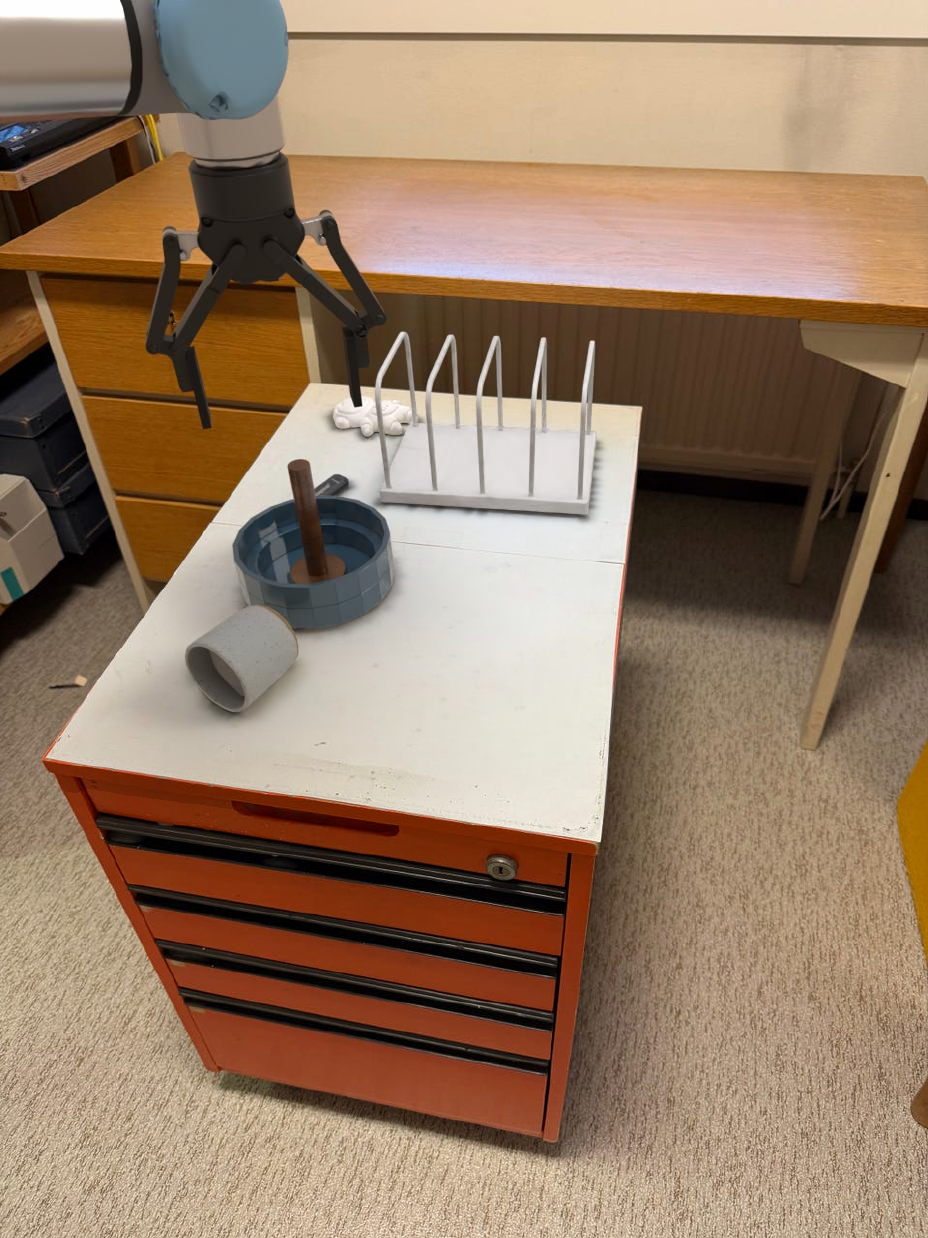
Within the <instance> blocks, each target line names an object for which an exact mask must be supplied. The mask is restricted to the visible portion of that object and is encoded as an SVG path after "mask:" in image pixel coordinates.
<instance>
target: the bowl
mask: <svg viewBox="0 0 928 1238" xmlns="http://www.w3.org/2000/svg"><path fill="white" fill-rule="evenodd" d="M316 502H317V507H318V513H319V519H320V525H321V531H322V537H323V542H324V548H325V554H332V555H335V556H337V557H339V558H340V559H342V560H343V562H344V563H345V566H346V572H347V574H345V575H343V576H340V577H338V578H335V579H333V580H327V581H322V582H316V583H311V584H292V583H291V578H290V570H291V568H292V566H293V565H294V564H295V563H296V562H297V561H298V560H300V559H302V558H304V557H305V556H304V551H303V546H302V540H301V535H300V530H299V525H298V520H297V514H296V509H295V504H294V499H293V498H292V499H288V500H285V501H283V502H280V503H277V504H273V505H271V506H269V507H267V508H265V509H263V510H262V511H261V512H259V513H257V514H255V515H254V516H252V517H250V519H248V521H247V522H245V523H244V525H243V526H241V528H240V529H239V530H237V534H236V536H235V538H234V540H233V543H232V545H231V547H232V556H233V557H232V558H233V563H234V566H235V571H236V574H237V578H238V582H239V586H240V589H241V593H242V597H243V601H244V602H245V603H246V604H247V607H248V606H251V605H256V604H258V605H264V606H266V607H269V608H271V609H273V610H275V611H276V612H278V613H279V614H280V615H281V616H282V617H283V618H284V619H285V620H286V621H287V622H288V623H289V625H290V626H291V628H292V629H312V630H313V629H315V630H316V629H322V628H327V627H332V626H338V625H341V624H344V623H347V622H349V621H352V620H354V619H356V618H359V617H361V616H364V615H365V614H367V613H368V612H369V611H371V610H372V609H373V608H375V607H376V606H377V605H379V604H380V603H381V602H382V601H383V600H384V598H385V597H386V596H387V594H388V593H389V591H390V590H391V588H392V586H393V582H394V576H395V565H394V564H395V563H394V555H393V547H392V538H391V537H392V536H391V531H390V528H389V524H388V522H387V519H386V517H385V516H383V514H382V513H380V511H378V509H376V508H375V507H374V506H372V505H370V504H368V503H365V502H363V501H361V500H359V499H356V498H351V497H345V496H341V495H335V496H316Z"/></svg>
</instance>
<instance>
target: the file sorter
mask: <svg viewBox="0 0 928 1238" xmlns="http://www.w3.org/2000/svg"><path fill="white" fill-rule="evenodd" d="M402 341H404V347H405V348H404V349H405V357H406V366H407V377H408V386H409V387H408V388H409V396H410V405H411V407H410V408H411V409H412V417H413V423H410V424H409V423H408V425H407V428H406V430H405V433H404V435H403V437H402V439H401V442H400V443H399V446H398V448H397V450H396V453H395V455H394V457H393V459H392V462H391V464H389V457H388V450H387V448H388V447H387V441H386V434H385V432H384V424H383V415H382V407H381V401H382V395H381V394H382V391H381V390H382V382H383V378H384V376H385V375H386V372H387V370H388V369H389V366H390V365H391V363H392V361H393V359H394V356H395V355H396V353H397V351H398V349H399V347H400V346H401V344H402ZM588 343H589V344H588V350H587V356H586V362H585V369H584V375H583V381H582V388H581V389H582V390H581V402H580V403H581V405H580V422H579V423H580V425H579V429H558V428H557V429H554V428H547V374H548V373H547V371H548V370H547V369H548V368H547V367H548V365H547V363H548V361H547V359H548V358H547V357H548V356H547V355H548V354H547V353H548V351H547V347H548V345H547V344H548V343H547V338H546V337H541V338H540V341H539V347H538V352H537V358H536V364H535V369H534V373H533V374H534V375H533V381H532V388H531V399H530V423H529V424H530V425H529V426H530V427H512V426H511V427H510V426H504V422H503V420H504V419H503V416H504V415H503V379H502V374H503V373H502V346H501V345H502V344H501V339H500V336H499V335H494V336H493V337H492V340H491V343H490V345H489V349H488V352H487V355H486V357H485V361H484V363H483V366H482V370H481V373H480V375H479V379H478V382H477V388H476V397H475V399H476V400H475V414H476V415H475V416H476V417H475V418H476V425H470V424H468V425H467V424H461V417H460V416H461V415H460V399H459V397H460V396H459V395H460V394H459V376H458V375H459V374H458V357H457V356H458V353H457V341H456V338H455V335H454V334H448V335H447V336H446V338H445V341H444V343H443V345H442V348H441V350H440V352H439V354H438V356H437V359H436V360H435V362H434V366H433V368H432V370H431V372H430V374H429V377H428V379H427V382H426V383H427V384H426V389H425V402H424V403H425V417H426V418H425V419H426V422H424V423H423V422H417V414H418V413H417V411H418V410H417V403H416V402H417V401H416V392H415V381H414V371H413V362H412V361H413V360H412V352H411V343H410V337H409V334H408V332H406V331H400V332H399V333H398V335H397V337H396V339H395V341H394V343H393V344H392V347H391V348H390V350H389V352H388V354H387V356H386V357H385V359H384V361H383V363H382V365H381V367H380V368H379V370H378V373H377V375H376V379H375V388H374V398H375V399H374V400H375V403H376V412H377V420H378V428H379V432H378V435H379V442H380V443H379V444H380V450H381V458H382V465H383V472H384V475H383V476H384V479H383V481H382V482H381V486H380V488H379V498H380V499H379V500H380V502H382V503H394V504H409V505H410V504H411V505H428V506H429V505H430V506H443V507H460V508H476V509H492V510H493V509H494V510H507V511H523V512H524V511H525V512H539V513H541V512H542V513H556V514H572V515H588V514H589V510H590V508H589V507H590V500H591V491H592V483H593V472H594V465H595V455H596V447H597V431H596V430H592V413H593V398H594V397H593V393H594V379H595V378H594V375H595V357H596V356H595V355H596V342H595V340H590V341H589V342H588ZM449 347H450V348H451V366H452V381H453V400H454V401H453V402H454V420H455V421H454V422H455V424H448V423H433V417H432V415H433V413H432V391H433V386H434V383H435V379H436V378H437V375H438V373H439V371H440V368H441V366H442V364H443V361H444V358H445V356H446V354H447V352H448V350H449ZM494 353H495V359H496V361H495V362H496V388H497V389H496V390H497V423H498V424H497V425H498V426H493V425H490V426H489V425H483V412H482V411H483V410H482V409H483V407H482V402H483V401H482V400H483V389H484V386H485V385H484V384H485V381H486V378H487V375H488V372H489V368H490V366H491V363H492V360H493V356H494ZM540 374H541V428H536V424H537V401H538V400H537V398H538V387H539V380H540Z"/></svg>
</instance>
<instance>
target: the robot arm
mask: <svg viewBox="0 0 928 1238" xmlns="http://www.w3.org/2000/svg"><path fill="white" fill-rule="evenodd" d="M289 41H290V39H289V35H288V24H287V19H286V15H285V11H284V9H283V6H282V3H281V1H280V0H0V125H1V124H2V125H3V124H13V123H15V124H16V123H27V122H40V121H43V122H44V121H54V120H55V121H56V120H68V119H69V120H70V119H71V120H72V119H83V118H96V117H137V116H149V115H150V116H153V115H165V114H166V115H167V114H176V117H177V121H178V126H179V132H180V135H181V141H182V145H183V151H184V152H185V154H186V155H187V156H189V157H190V158H193V159H192V160H191V161H190V163H189V165H188V167H187V168H188V173H189V177H190V183H191V187H192V188H191V189H192V192H193V197H194V202H195V207H196V211H197V215H198V227H197V230H177V229H176V227H174V226H173V225H167V226H165V227H163V230H162V233H161V234H162V239H161V240H162V250H163V258H164V260H163V263H162V268H161V271H160V276H159V279H158V283H157V288H156V292H155V297H154V301H153V304H152V309H151V313H150V316H149V320H148V326H147V328H146V329H147V330H146V333H145V350H146V352H147V353H148V354H149V355H153V356H156V355H158V354H159V355H165V356H167V357H169V359H170V360H171V362H172V365H173V369H174V373H175V377H176V380H177V384H178V389H179V390H180V391H181V392H182V394H183V393H190V392H191V393H192V392H193V394H194V398H195V402H196V407H197V411H198V415H199V419H200V423H201V427H202V430H210V429H213V428H212V417H211V411H210V407H209V402H208V398H207V395H206V390H205V386H204V382H203V381H204V380H203V377H202V372H201V369H200V364H199V360H198V356H197V351H196V348H195V346H194V345H192V343H193V342H194V340H195V338H196V337H197V335H198V333H199V331H200V330H201V328H202V326H203V325H204V323H205V321H206V320H207V318H208V316H209V315H210V313H211V312H212V310H213V308H214V306H215V304H216V303H217V301H218V299H219V298H220V296H221V295H223V293H224V292H225V290H226V289H227V287H228V285H229V284H230V282H231V281H232V282H234V283H237V284H240V286H247V285H253V284H254V283H257V282H260V281H261V282H267V283H272V282H279V281H280V279H282V278H283V277H284V276H285V275H286V274H287V275H288V276H289V277H290V278H292V279H293V280H294V281H295V282H296V283H297V284H298V285H300V286H302V287H303V288H304V289H305V290H306V291H308V292H309V293H310V294H311V295H312V296H313V297H314V298H315V299H316V300H317V301H318V302H320V303H321V304H322V306H324V307H325V308H326V309H327V310H329V312H331V313H332V314H333V315H334V316H335V317H336V318H337V319H338V320H339V321H340V322H341V323H343V324H344V325H345V326H341V332H342V341H343V348H344V349H343V350H344V358H345V366H346V374H347V382H348V383H347V384H348V391H349V397H351V399H352V402H353V405H354V408H355V407H362V397H361V396H362V390H361V382H360V381H361V380H360V372H359V369H364V368H365V369H366V368H369V366H370V363H371V362H370V352H369V351H370V350H369V341H368V335H369V331H370V330H371V329H372V328H374V327H377V326H384V325H385V324H386V322H387V315H386V313H385V311H384V308H383V307H382V305H381V303H380V302H379V300H378V299H377V297H376V295H375V294H374V292H373V291H372V289H371V287H370V286H369V284H368V282H367V281H366V279H365V278H364V276H363V275H362V273H361V272H360V270H359V268H358V267H357V265H356V263H355V262H354V260H353V258H352V256H351V255H350V254H349V252H348V250H347V249H346V248H345V246H344V244H343V242H342V239H341V234H340V229H339V226H338V223H337V220H336V218H335V216H334V215H333V213H332V211H331V210H329V209H322V210H321V211H320V212H319V214H318V215H316V216H312V217H309V218H304V219H301V218H300V217H299V215H298V214H297V211H296V204H295V197H294V190H293V185H292V184H293V183H292V176H291V170H290V163H289V158H288V157H287V156H286V155H285V154H284V153H283V152H282V151H281V150H282V149H283V148H285V146H286V144H287V141H286V140H287V139H286V134H285V128H284V127H285V126H284V120H283V112H282V107H281V106H282V105H281V100H280V99H281V98H280V92H279V91H280V89H281V87H282V84H283V82H284V80H285V77H286V73H287V70H288V65H289V64H288V63H289V55H290V54H289V53H290V52H289V51H290V49H289ZM306 236H309V237H312V238H313V240H314V241H315V243H316V244H317V245H318V246H320V247H321V246H322V247H324V246H326V247H327V250H328V252H329V255H330V256H331V259H332V260H333V261H334V263H335V264H336V266H337V267H338V269H339V270H340V273H341V274H342V275H343V277H344V278H345V280H346V281H347V283H348V285H349V286H350V288H351V289H352V292H353V293H354V294H355V296H356V298H357V299H358V300H359V302H360V303H361V305H362V307H363V308H364V309H362V310H359V311H358V310H357V309H356V308H355V307H354V306H353V305H352V304H351V303H350V302H349V301H348V300H346V299H345V297H343V296H342V295H341V294H340V293H339V292H338V291H337V290H336V289H335V288H334V287H333V286H332V285H330V284H329V283H328V282H327V281H326V280H325V279H324V278H323V277H322V276H320V275H319V273H317V272H316V271H315V270H314V269H313V268H312V267H311V266H310V265H309V264H308V262H307V261H306V260H305V259H304V258H303V257H302V256H301V255H300V254H299V253H298V252H299V250H300V249H301V246H302V245H303V243H304V240H305V238H306ZM197 248H199V250H200V251H201V252H202V253H203V254H204V255H205V256H206V258H208V259H209V260H210V261H211V264H210V266H209V267H208V269H207V272H206V274H205V277H204V279H203V280H202V282H201V284H200V286H199V287H198V289H197V291H196V292H195V294H194V295H193V298H192V299H191V301H190V303H189V304H188V306H187V308H186V309H185V310H184V311H185V312H184V313H183V315H182V316H181V318H180V320H179V321H178V323H177V325H176V326H175V328H174V330H173V332H172V334H171V333H170V334H166V332H167V331H166V330H167V326H168V323H169V319H170V316H171V310H172V309H173V308H172V307H173V303H174V299H175V295H176V291H177V287H178V283H179V280H180V276H181V271H182V262H187V261H189V260H190V259H191V256H192V253H193V250H195V249H197Z"/></svg>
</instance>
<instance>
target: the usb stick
mask: <svg viewBox="0 0 928 1238" xmlns="http://www.w3.org/2000/svg"><path fill="white" fill-rule="evenodd" d="M349 482H350V481H349V478H348V477H346V476H345V475H342V474H341V473H334V474H332V475H331V476H329V478H327V479H325V480H324V481H323V482H321V483H320V484H319V485H317V486H316V487H314V490H315V496H337V495H338V494H339V493H341V492H342V491H343V490H344V489H346V488H347V487H348V486H349V484H350V483H349Z"/></svg>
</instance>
